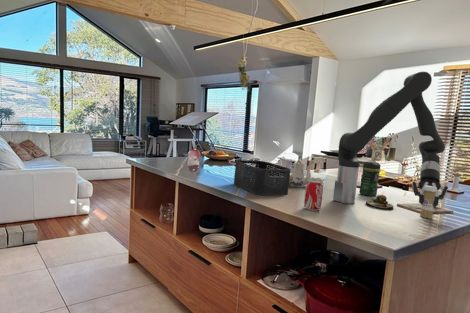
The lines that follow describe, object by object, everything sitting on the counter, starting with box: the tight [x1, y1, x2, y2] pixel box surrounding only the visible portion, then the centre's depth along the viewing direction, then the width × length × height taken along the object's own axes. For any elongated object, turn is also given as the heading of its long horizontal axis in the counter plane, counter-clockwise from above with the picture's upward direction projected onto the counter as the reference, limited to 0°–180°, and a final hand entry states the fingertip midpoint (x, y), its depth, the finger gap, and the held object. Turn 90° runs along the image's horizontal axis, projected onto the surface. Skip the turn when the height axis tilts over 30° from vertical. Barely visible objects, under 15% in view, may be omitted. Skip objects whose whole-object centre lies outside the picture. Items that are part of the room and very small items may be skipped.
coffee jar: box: [358, 161, 381, 197], centre depth 180 cm, size 10×8×19 cm
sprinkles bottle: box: [419, 185, 438, 219], centre depth 139 cm, size 5×5×13 cm
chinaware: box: [285, 158, 325, 188], centre depth 193 cm, size 28×17×17 cm, turn 57°
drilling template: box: [396, 202, 454, 215], centre depth 155 cm, size 20×14×9 cm
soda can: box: [303, 180, 324, 212], centre depth 136 cm, size 7×7×12 cm
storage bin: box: [233, 159, 292, 196], centre depth 170 cm, size 29×19×13 cm
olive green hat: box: [365, 191, 394, 211], centre depth 152 cm, size 12×12×8 cm
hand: (428, 204), depth 137 cm, fingers closed on sprinkles bottle, 4 cm apart
